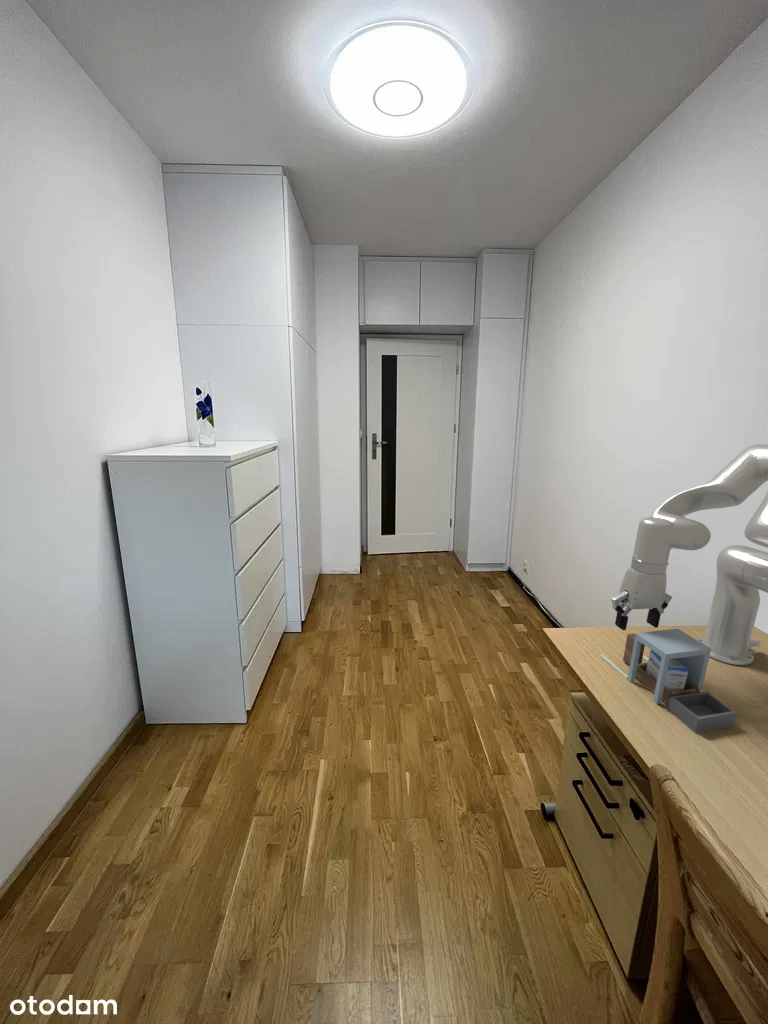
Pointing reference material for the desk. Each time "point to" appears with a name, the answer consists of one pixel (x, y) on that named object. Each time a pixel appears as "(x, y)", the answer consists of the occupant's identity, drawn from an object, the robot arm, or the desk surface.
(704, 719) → the tray
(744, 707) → the desk surface
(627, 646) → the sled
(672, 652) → the tunnel
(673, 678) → the medicine box
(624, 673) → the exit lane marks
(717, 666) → the desk surface
